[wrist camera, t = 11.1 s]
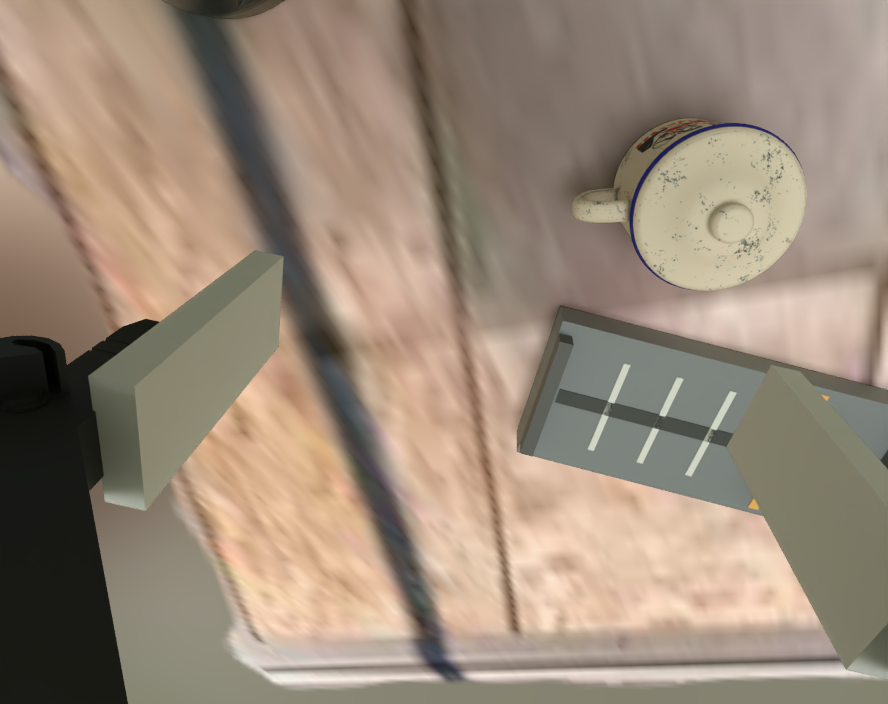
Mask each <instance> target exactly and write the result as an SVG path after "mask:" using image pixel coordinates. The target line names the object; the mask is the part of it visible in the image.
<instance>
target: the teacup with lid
mask: <svg viewBox="0 0 888 704" xmlns="http://www.w3.org/2000/svg"><path fill="white" fill-rule="evenodd" d="M806 202H807V188H806V181H805V176H804V173H803V169H802V166H801V164H800V162H799V160H798V158H797V157H796V155H795V153H794V152H793V151H792V149H791V148H790V147H789V146H788V145H787V144H786V143H785V142H784V141H783V140H782V139H780V138H779V137H778V136H776V135H774V134H773V133H771V132H769V131H767V130H765V129H762V128H760V127H756V126H753V125H747V124H739V123H725V124H721V123H717V122H712V121H708V120H703V119H696V118H685V119H678V120H674V121H670V122H667V123H664V124H662V125H659V126H657V127H655V128H654V129H652V130H650V131H649V132H647V133H646V134H644V135H643V136H642V137H641V138H640V139H639V140H637V141H636V142H635V143H634V145H633V146H632V147H631V148H630V149H629V151H628V152H627V153H626V155H625V156H624V158H623V160H622V162H621V164H620V166H619V168H618V171H617V174H616V177H615V182H614V188H605V189H596V190H591V191H587V192H584V193H581V194H579V195H577V196H576V197H575V198H574V199H573V202H572V213H573V215H574V217H576V218H577V219H579V220H582V221H587V222H596V223H611V222H621V223H622V225H623V227H624V228H625V229H626V231H627V232H628V234H629V235H630V237H631V239H632V242H633V245H634V248H635V250H636V252H637V254H638V256H639V258H640V259H641V261H642V262H643V263H644V265H645V266H646V267H647V268H648V269H649V270H650V271H651V272H652V273H653V274H654V275H656V276H657V277H659V278H660V279H662V280H663V281H665V282H667V283H669V284H672V285H674V286H677V287H680V288H684V289H689V290H700V291H710V290H719V289H725V288H729V287H733V286H736V285H739V284H741V283H744V282H746V281H748V280H750V279H752V278H754V277H756V276H757V275H759V274H761V273H762V272H764V271H765V270H766V269H768V268H769V267H770V266H771V265H772V264H774V263H775V262H776V261H777V260H778V259H779V258H780V257H781V256H782V255H783V253H784V252H785V251H786V250H787V249H788V247H789V246H790V244H791V243H792V241H793V240H794V238H795V236H796V234H797V233H798V230H799V228H800V226H801V223H802V220H803V218H804V213H805V209H806Z"/></svg>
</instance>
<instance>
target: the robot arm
mask: <svg viewBox="0 0 888 704" xmlns="http://www.w3.org/2000/svg"><path fill="white" fill-rule="evenodd" d="M162 1H164V2H166V3H168V4H170V5H172V6H174V7H176V8H179V9H181V10H184V11H187V12H191V13H194V14H199V15H204V16H209V17H214V18H222V19H237V18H245V17H250V16H254V15H257V14H260V13H263V12H265V11H267V10H269V9H271V8H273V7H274V6H276V5H278V4H279V3H281V2H282V1H283V0H162ZM282 275H283V256H279V255H274V254H270V253H265V252H261V251H256V250H255V251H254V252H252V253H251V254H250V255H248V256H247V257H246V258H244V259H243V260H242V261H240V262H239V263H238V264H236V265H235V266H234V267H232V268H231V269H230V270H228V271H227V272H226V273H224V274H223V275H222V276H220V277H219V278H218V279H216V280H215V281H214V282H212V283H211V284H210V285H209V286H207V287H206V288H205V289H203V290H202V291H201V292H199V293H198V294H197V295H195V296H194V297H193V298H191V299H190V300H189V301H187V302H186V303H185V304H183V305H182V306H181V307H179V308H178V309H177V310H175V311H174V312H173V313H171V314H170V315H169V316H167V317H166V318H165V319H163V320H162V321H161V322H158V321H153V320H149V319H144V320H141V321H138V322H135V323H132V324H129V325H126V326H123V327H122V328H120V329H119V330H117V331H116V332H114V333H113V334H111V335H110V336H109V337H107V338H106V340H105V341H101V342H100V343H98V344H97V345H96V346H94V347H93V348H92V350H91V351H89V350H88V351H87V352H85V353H84V354H83V355H81V356H80V357H79V358H77V359H75V360H74V361H73V362H71V363H70V364H68V365H67V364H66V357H65V351H64V349H63V348H62V346H61V345H60V344H59V343H57V342H55V341H53V340H51V339H49V338H43V337H36V336H10V337H5V338H0V704H128V702H127V696H126V690H125V686H124V679H123V674H122V669H121V663H120V658H119V652H118V647H117V642H116V637H115V630H114V625H113V619H112V614H111V609H110V603H109V598H108V592H107V587H106V581H105V576H104V571H103V565H102V560H101V554H100V548H99V543H98V538H97V532H96V527H95V521H94V516H93V510H92V505H91V499H90V494H89V490H90V489H92V488H93V486H94V485H95V484H96V483H97V482H98V481H99V480H100V479H101V478H102V482H103V490H104V497H105V502H109V503H113V504H118V505H122V506H126V507H131V508H136V509H140V510H144V511H146V510H147V508H148V507H149V506H150V505H151V503H152V502H153V501H154V500H155V498H156V497H157V496H158V494H160V492H161V491H162V490H163V489H164V487H165V486H166V485H167V484H168V482H169V481H170V480H171V479H172V477H173V476H174V475H175V474H176V473H177V471H178V470H179V469H180V468H181V466H182V465H183V464H184V463H185V461H186V460H187V459H188V458H189V457H190V455H191V454H192V453H193V452H194V450H195V449H196V448H197V447H198V445H199V444H200V443H201V442H202V440H203V439H204V438H205V437H206V436H207V434H208V433H209V432H210V431H211V429H212V428H213V427H214V426H215V424H216V423H217V422H218V421H219V419H220V418H221V417H222V416H223V415H224V413H225V412H226V411H227V410H228V408H229V407H230V406H231V405H232V403H233V402H234V401H235V400H236V399H237V397H238V396H239V395H240V394H241V392H242V391H243V390H244V389H245V387H246V386H247V385H248V384H249V382H250V381H251V380H252V379H253V378H254V376H255V375H256V374H257V373H258V371H259V370H260V369H261V368H262V366H263V365H264V364H265V363H266V362H267V360H268V359H269V358H270V357H271V355H272V354H273V353H274V352H275V350H276V349H277V348H278V346H279V328H280V311H281V293H282ZM727 449H728V451H729V453H730V454H731V456H732V458H733V460H734V462H735V464H736V466H737V467H738V469H739V471H740V473H741V475H742V477H743V479H744V480H745V482H746V484H747V486H748V488H749V490H750V492H751V494H752V495H753V497H754V499H755V501H756V503H757V505H758V507H759V508H760V510H761V512H762V514H763V516H764V518H765V520H766V521H767V523H768V525H769V527H770V529H771V531H772V533H773V535H774V536H775V538H776V540H777V542H778V544H779V546H780V548H781V549H782V551H783V553H784V555H785V557H786V559H787V561H788V562H789V564H790V566H791V568H792V570H793V572H794V574H795V576H796V577H797V579H798V581H799V583H800V585H801V587H802V589H803V590H804V592H805V594H806V596H807V598H808V600H809V602H810V603H811V605H812V607H813V609H814V611H815V613H816V615H817V616H818V618H819V620H820V622H821V624H822V626H823V628H824V630H825V631H826V633H827V635H828V637H829V639H830V641H831V643H832V644H833V646H834V648H835V650H836V652H837V654H838V656H839V657H840V659H841V661H842V663H843V665H844V667H845V669H846V670H849V671H854V672H858V673H862V674H867V675H871V676H876V677H880V678H884V679H888V469H887V468H886V467H885V466H884V465H883V463H882V462H881V461H880V460H879V459H878V458H877V457H876V456H875V454H874V453H873V452H872V451H871V450H870V449H869V448H868V447H867V446H866V444H865V443H864V442H863V441H862V440H861V439H860V438H859V437H858V436H857V434H856V433H855V432H854V431H853V430H852V429H851V428H850V427H849V425H848V424H847V423H846V422H845V421H844V420H843V419H842V418H841V417H840V415H839V414H838V413H837V412H836V411H835V410H834V409H833V408H832V407H831V405H830V404H829V403H828V402H827V401H826V400H825V399H824V398H823V396H822V395H821V394H820V393H819V392H818V391H817V390H816V389H815V388H814V386H813V385H812V384H811V383H810V382H809V381H808V380H807V379H806V378H805V376H804V375H803V374H802V373H801V372H800V371H796V370H792V369H787V368H783V367H778V366H774V365H771V366H770V368H769V370H768V372H767V374H766V376H765V377H764V379H763V381H762V383H761V385H760V387H759V388H758V390H757V392H756V394H755V396H754V398H753V399H752V401H751V403H750V405H749V407H748V409H747V410H746V412H745V414H744V416H743V418H742V420H741V421H740V423H739V425H738V427H737V429H736V431H735V432H734V434H733V436H732V438H731V440H730V442H729V443H728V445H727Z"/></svg>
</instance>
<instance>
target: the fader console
mask: <svg viewBox="0 0 888 704" xmlns="http://www.w3.org/2000/svg"><path fill="white" fill-rule="evenodd" d="M771 365H774V366H778V367H783V368H787V369H792V370H796V371H800V372H801V373H802V374H803V375H804V376H805V378H806V379H807V380H808V381H809V382H810V383H811V384H812V385H813V386H814V388H815V389H816V390H817V391H818V392H819V393H820V394H821V395H822V396H823V398H824V399H825V400H826V401H827V402H828V403H829V404H830V405H831V407H832V408H833V409H834V410H835V411H836V412H837V413H838V414H839V415H840V417H841V418H842V419H843V420H844V421H845V422H846V423H847V424H848V425H849V427H850V428H851V429H852V430H853V431H854V432H855V433H856V434H857V436H858V437H859V438H860V439H861V440H862V441H863V442H864V443H865V444H866V446H867V447H868V448H869V449H870V450H871V451H872V452H873V453H874V454H875V456H876V457H877V458H878V459H879V460H880V461H881V462H882V463H883V465H884V466H885V467H886V468H887V469H888V390H885V389H881V388H877V387H874V386H870V385H866V384H862V383H858V382H854V381H850V380H846V379H842V378H839V377H835V376H831V375H827V374H823V373H819V372H815V371H811V370H808V369H804V368H800V367H796V366H792V365H788V364H784V363H780V362H777V361H773V360H769V359H765V358H761V357H757V356H753V355H749V354H745V353H742V352H738V351H734V350H730V349H726V348H722V347H718V346H714V345H711V344H707V343H703V342H699V341H695V340H691V339H687V338H683V337H680V336H676V335H672V334H668V333H664V332H660V331H656V330H652V329H648V328H645V327H641V326H637V325H633V324H629V323H625V322H621V321H617V320H614V319H610V318H606V317H602V316H598V315H594V314H590V313H586V312H583V311H579V310H575V309H571V308H567V307H563V306H560V309H559V311H558V314H557V317H556V320H555V323H554V326H553V329H552V332H551V335H550V337H549V340H548V343H547V346H546V349H545V352H544V355H543V358H542V361H541V363H540V366H539V369H538V372H537V375H536V378H535V381H534V384H533V387H532V389H531V392H530V395H529V398H528V401H527V404H526V407H525V410H524V413H523V415H522V418H521V421H520V424H519V427H518V430H517V452H519V453H521V454H525V455H529V456H535V457H538V458H542V459H546V460H550V461H554V462H558V463H561V464H565V465H569V466H573V467H577V468H581V469H584V470H588V471H592V472H596V473H600V474H604V475H607V476H611V477H615V478H619V479H623V480H627V481H631V482H634V483H638V484H642V485H646V486H650V487H654V488H657V489H661V490H665V491H669V492H673V493H677V494H680V495H684V496H688V497H692V498H696V499H700V500H703V501H707V502H711V503H715V504H719V505H723V506H726V507H730V508H734V509H738V510H742V511H746V512H750V513H753V514H757V515H761V516H763V514H762V512H761V510H760V508H759V507H758V505H757V503H756V501H755V499H754V497H753V495H752V494H751V492H750V490H749V488H748V486H747V484H746V482H745V480H744V479H743V477H742V475H741V473H740V471H739V469H738V467H737V466H736V464H735V462H734V460H733V458H732V456H731V454H730V453H729V451H728V449H727V445H728V443H729V442H730V440H731V438H732V436H733V434H734V432H735V431H736V429H737V427H738V425H739V423H740V421H741V420H742V418H743V416H744V414H745V412H746V410H747V409H748V407H749V405H750V403H751V401H752V399H753V398H754V396H755V394H756V392H757V390H758V388H759V387H760V385H761V383H762V381H763V379H764V377H765V376H766V374H767V372H768V370H769V368H770V366H771Z"/></svg>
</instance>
